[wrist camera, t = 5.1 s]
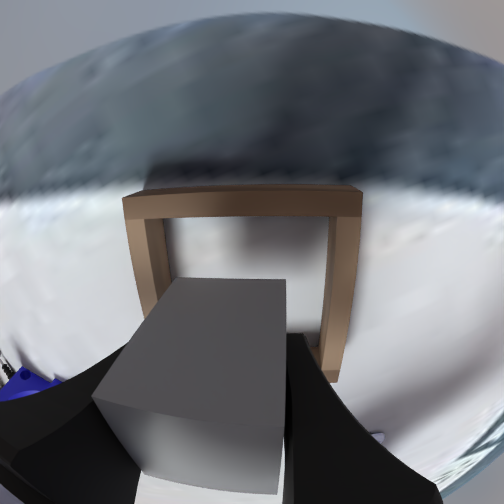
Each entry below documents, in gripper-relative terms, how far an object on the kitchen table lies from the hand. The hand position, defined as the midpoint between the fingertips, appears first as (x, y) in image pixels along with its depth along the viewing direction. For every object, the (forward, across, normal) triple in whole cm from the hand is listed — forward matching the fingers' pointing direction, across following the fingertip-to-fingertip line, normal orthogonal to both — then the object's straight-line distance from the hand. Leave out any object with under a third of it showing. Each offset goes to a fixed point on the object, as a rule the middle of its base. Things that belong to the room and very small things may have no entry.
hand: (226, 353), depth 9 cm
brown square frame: (+5, 0, 0) cm, 5 cm away
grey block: (+2, 0, 0) cm, 2 cm away
